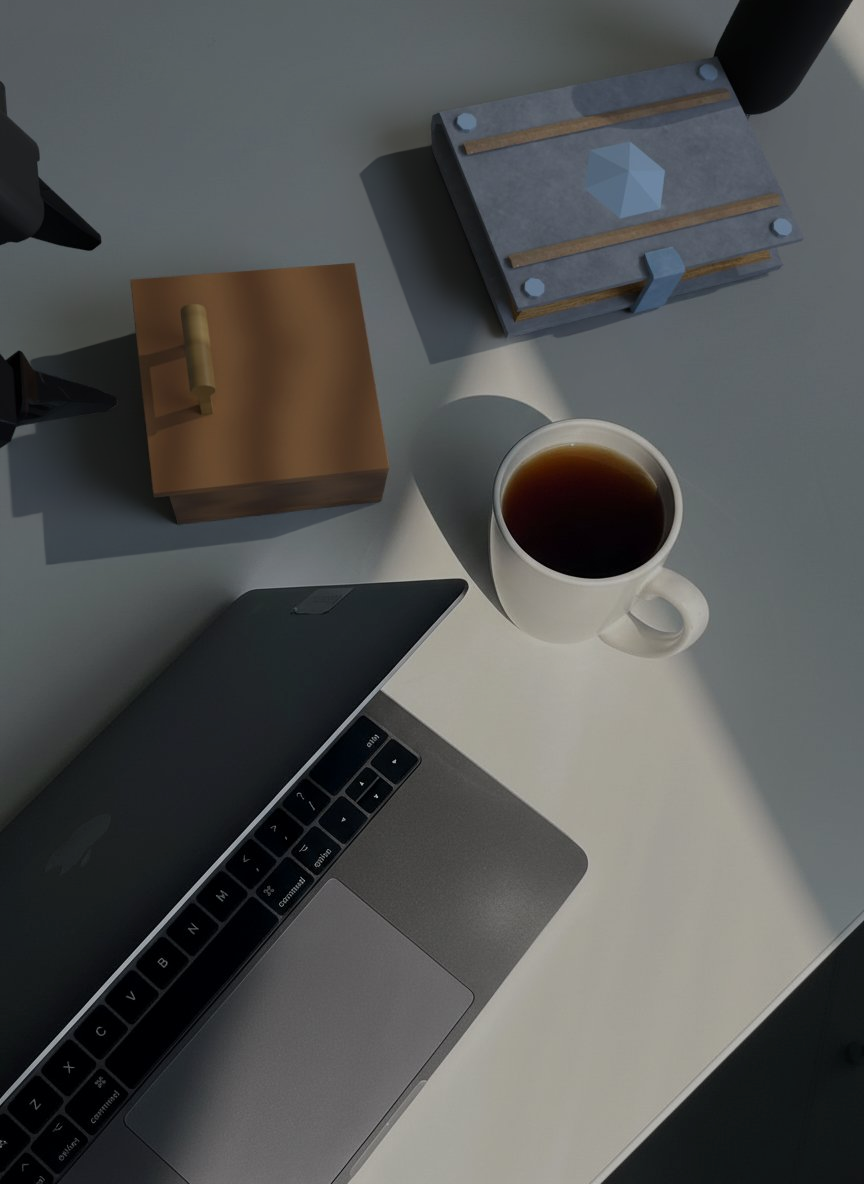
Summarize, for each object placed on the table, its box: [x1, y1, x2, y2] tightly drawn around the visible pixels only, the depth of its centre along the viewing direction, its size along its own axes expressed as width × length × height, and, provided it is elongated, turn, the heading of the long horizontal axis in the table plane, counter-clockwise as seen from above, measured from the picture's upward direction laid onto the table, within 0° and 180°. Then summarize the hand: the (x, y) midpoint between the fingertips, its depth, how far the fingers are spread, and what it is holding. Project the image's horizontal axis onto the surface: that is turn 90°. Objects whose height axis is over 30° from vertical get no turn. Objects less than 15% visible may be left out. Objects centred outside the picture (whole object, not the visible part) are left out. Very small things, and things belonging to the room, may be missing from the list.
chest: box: [168, 471, 389, 525], centre depth 63 cm, size 13×14×5 cm
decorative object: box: [712, 0, 854, 116], centre depth 70 cm, size 7×7×15 cm
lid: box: [129, 262, 390, 498], centre depth 59 cm, size 13×14×5 cm
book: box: [430, 56, 805, 339], centre depth 71 cm, size 21×16×5 cm
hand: (104, 322), depth 53 cm, fingers open, 9 cm apart
